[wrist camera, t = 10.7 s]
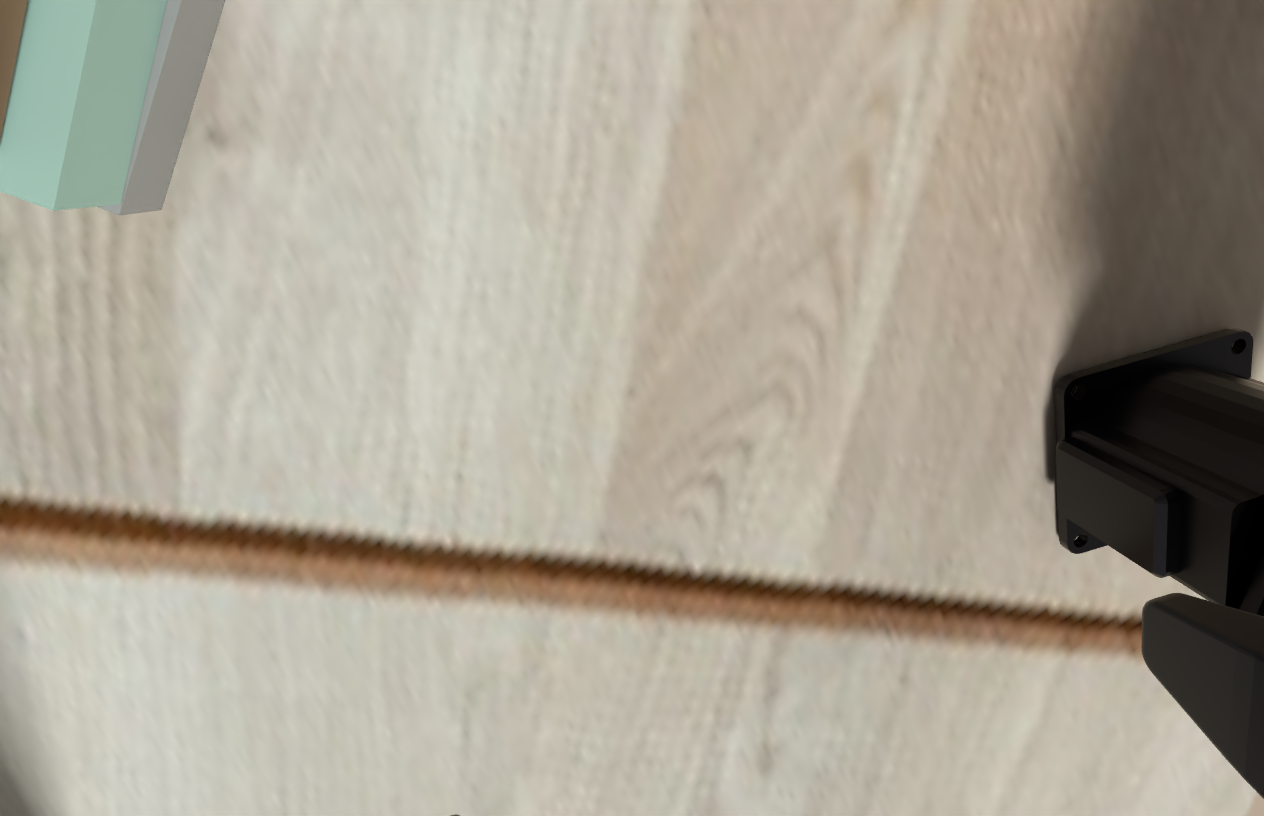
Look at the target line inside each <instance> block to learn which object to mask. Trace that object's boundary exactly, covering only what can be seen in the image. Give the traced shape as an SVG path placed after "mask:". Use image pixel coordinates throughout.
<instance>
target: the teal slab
mask: <svg viewBox="0 0 1264 816" xmlns="http://www.w3.org/2000/svg"><path fill="white" fill-rule="evenodd" d="M166 2H167V0H28V1H27V6H26V11H25V17H24V22H23V27H22V32H21V37H20V42H19V47H18V52H17V57H16V62H15V68H14V73H13V78H12V83H11V88H10V93H9V98H8V103H7V108H6V114H5V119H4V124H3V129H2V134H1V139H0V192H3V193H6V194H8V195H11V196H14V197H17V198H19V199H22V200H25V201H28V202H31V203H33V204H36V205H39V206H42V207H44V208H47V209H50V210H53V211H55V210H65V209H76V208H86V207H96V206H107V205H117V204H121V199H122V195H123V190H124V186H125V182H126V177H127V173H128V168H129V164H130V160H131V155H132V151H133V147H134V142H135V138H136V133H137V129H138V125H139V120H140V116H141V111H142V107H143V103H144V98H145V94H146V90H147V85H148V81H149V76H150V72H151V68H152V63H153V59H154V55H155V50H156V46H157V41H158V37H159V33H160V28H161V24H162V19H163V15H164V11H165V6H166Z"/></svg>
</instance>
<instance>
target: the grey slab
mask: <svg viewBox="0 0 1264 816" xmlns="http://www.w3.org/2000/svg"><path fill="white" fill-rule="evenodd" d="M224 3H225V0H167V2H166V6H165V11H164V15H163V19H162V24H161V28H160V33H159V37H158V41H157V46H156V50H155V55H154V59H153V63H152V68H151V72H150V76H149V81H148V85H147V90H146V94H145V98H144V103H143V107H142V111H141V116H140V120H139V125H138V129H137V133H136V138H135V142H134V147H133V151H132V155H131V160H130V164H129V168H128V173H127V177H126V182H125V186H124V190H123V195H122V199H121V204H117V205H107V206H97V207H100V208H102V209H104V210H107V211H109V212H112V213H114V214H117V215H127V214H134V213H142V212H149V211H157V210H162V207H163V203H164V200H165V197H166V194H167V190H168V187H169V184H170V180H171V177H172V174H173V171H174V167H175V164H176V161H177V157H178V154H179V151H180V148H181V144H182V141H183V138H184V134H185V131H186V128H187V125H188V121H189V118H190V115H191V111H192V108H193V105H194V102H195V98H196V95H197V92H198V88H199V85H200V82H201V79H202V75H203V72H204V69H205V65H206V62H207V59H208V56H209V52H210V49H211V46H212V42H213V39H214V36H215V33H216V29H217V26H218V23H219V19H220V16H221V13H222V9H223V6H224Z"/></svg>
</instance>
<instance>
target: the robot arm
mask: <svg viewBox="0 0 1264 816" xmlns="http://www.w3.org/2000/svg"><path fill="white" fill-rule="evenodd" d="M1233 343H1234V345H1233ZM1232 345H1233V347H1232ZM1252 351H1253V338H1252V336H1251V334H1250V333H1248V332H1246V331H1242V330H1238V329H1226V330H1223V331H1219V332H1216V333H1212V334H1209V335H1205V336H1202V337H1198V338H1195V339H1191V340H1187V341H1184V342H1180V343H1177V344H1173V345H1170V346H1166V347H1163V348H1159V349H1156V350H1152V351H1149V352H1145V353H1142V354H1138V355H1135V356H1131V357H1128V358H1124V359H1121V360H1117V361H1114V362H1110V363H1107V364H1103V365H1099V366H1096V367H1092V368H1089V369H1085V370H1082V371H1078V372H1075V373H1071V374H1068V375H1066V376H1064V377H1063V378H1062V379H1061V380H1060V381H1059V382H1058V384H1057V386H1056V390H1055V411H1056V478H1057V510H1058V519H1059V541H1060V544H1061V545H1062V546H1063V547H1064V548H1066V549H1067V550H1069V551H1070V552H1072V553H1075V554H1079V553H1084V552H1087V551H1090V550H1093V549H1097V548H1100V547H1103V546H1107V545H1109V546H1110V547H1112V548H1113V549H1115V550H1116V551H1118V552H1119V553H1121V554H1122V555H1124V556H1126V557H1127V558H1129V559H1130V560H1132V561H1133V562H1135V563H1136V564H1138V565H1139V566H1141V567H1142V568H1144V569H1145V570H1147V571H1149V572H1150V573H1152V574H1153V575H1155V576H1157V577H1159V578H1163V577H1166V576H1171V577H1172V578H1174V579H1175V580H1177V581H1179V582H1180V583H1182V584H1183V585H1185V586H1186V587H1188V588H1190V589H1191V590H1193V591H1194V592H1196V593H1197V594H1199V595H1201V596H1202V597H1204V598H1205V599H1207V600H1208V601H1207V600H1203V599H1200V598H1196V597H1193V596H1189V595H1186V594H1182V593H1172V594H1168V595H1165V596H1162V597H1159V598H1155V599H1152V600H1149V601H1148V602H1146V603H1145V605H1144V607H1143V611H1142V654H1143V658H1144V660H1145V663H1146V665H1147V666H1148V668H1149V669H1150V671H1151V672H1152V673H1153V674H1154V676H1155V677H1156V678H1157V679H1158V680H1159V681H1160V683H1161V684H1162V685H1163V686H1164V687H1165V688H1166V690H1167V691H1168V692H1169V693H1170V694H1171V695H1172V697H1173V698H1174V699H1175V700H1176V701H1177V702H1178V704H1179V705H1180V706H1181V707H1182V708H1183V709H1184V710H1185V712H1186V713H1187V714H1188V715H1189V716H1190V717H1191V719H1192V720H1193V721H1194V722H1195V723H1196V724H1197V726H1198V727H1199V728H1200V729H1201V730H1202V731H1203V733H1204V734H1205V735H1206V736H1207V737H1208V738H1209V740H1210V741H1211V742H1212V743H1213V744H1214V745H1215V747H1216V748H1217V749H1218V750H1219V751H1220V752H1221V754H1222V755H1223V756H1224V757H1225V758H1226V759H1227V760H1228V762H1229V763H1230V764H1231V765H1232V766H1233V767H1234V768H1235V769H1236V770H1237V771H1238V773H1239V774H1240V775H1241V776H1242V777H1243V778H1244V779H1245V780H1246V781H1247V782H1248V783H1249V784H1250V785H1251V786H1252V787H1253V788H1254V789H1255V790H1256V791H1257V792H1258V793H1259V795H1260V796H1262V798H1263V799H1264V383H1263V382H1260V381H1256V380H1253V379H1250V377H1251V364H1252ZM1075 386H1077V389H1076V391H1075V393H1074V394H1073V395H1071V393H1072V390H1073V388H1074V387H1075ZM1077 536H1079V537H1078V538H1077V539H1076V537H1077ZM1075 539H1076V540H1075ZM451 816H460V815H451Z"/></svg>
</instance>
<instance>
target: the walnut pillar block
mask: <svg viewBox="0 0 1264 816" xmlns="http://www.w3.org/2000/svg"><path fill="white" fill-rule="evenodd" d="M27 1H28V0H0V139H1V134H2V129H3V124H4V119H5V114H6V108H7V103H8V98H9V93H10V88H11V83H12V78H13V73H14V68H15V62H16V57H17V52H18V47H19V42H20V37H21V32H22V27H23V22H24V17H25V11H26V6H27Z"/></svg>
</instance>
